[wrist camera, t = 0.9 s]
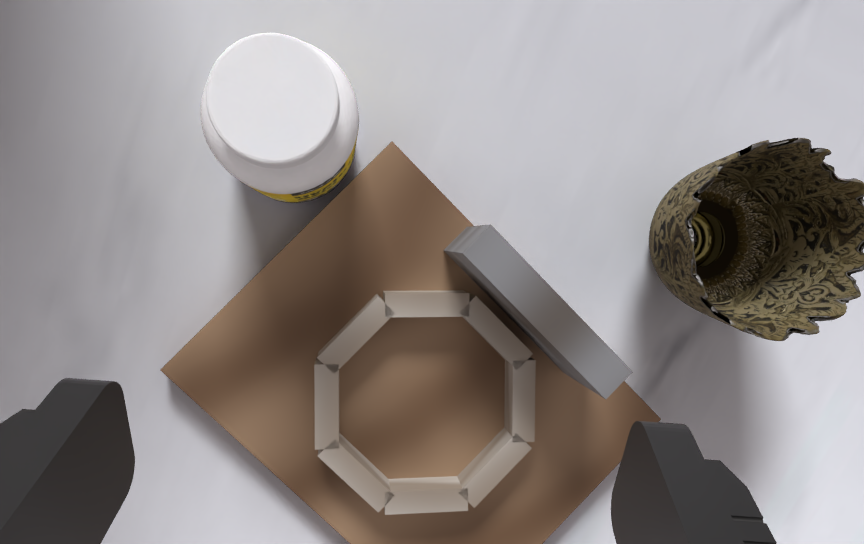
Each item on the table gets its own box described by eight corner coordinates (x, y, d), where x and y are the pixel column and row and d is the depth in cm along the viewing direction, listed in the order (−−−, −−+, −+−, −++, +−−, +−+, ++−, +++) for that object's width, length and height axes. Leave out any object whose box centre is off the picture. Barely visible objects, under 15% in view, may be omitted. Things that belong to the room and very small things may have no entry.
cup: (780, 240, 33) (917, 241, 25) (678, 346, 32) (785, 381, 25) (683, 130, 32) (793, 95, 24) (577, 238, 32) (653, 238, 24)
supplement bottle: (308, 228, 30) (289, 224, 20) (208, 153, 29) (138, 112, 20) (380, 133, 30) (395, 84, 20) (282, 56, 29) (250, -32, 20)
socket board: (167, 364, 29) (120, 398, 23) (390, 145, 30) (400, 121, 24) (448, 622, 32) (473, 714, 26) (649, 412, 32) (719, 453, 26)
